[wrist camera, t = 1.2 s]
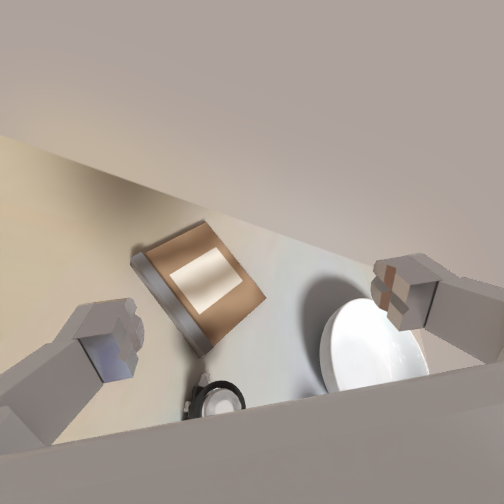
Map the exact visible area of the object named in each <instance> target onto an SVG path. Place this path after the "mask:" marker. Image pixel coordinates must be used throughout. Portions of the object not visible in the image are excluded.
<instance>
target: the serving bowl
mask: <svg viewBox="0 0 504 504" xmlns="http://www.w3.org/2000/svg"><path fill="white" fill-rule="evenodd" d="M320 366H321V372H322V376H323V380H324V383H325V386H326V388H327V391H328V393H334V392H339V391H345V390H350V389H356V388H361V387H366V386H372V385H377V384H382V383H388V382H393V381H398V380H404V379H409V378H414V377H420V376H425V375H429V371H428V367H427V364H426V361H425V358H424V356H423V353H422V351H421V348H420V346H419V344H418V343H417V341H416V339H415V337H414V336H413V334H412V333H411V331H410V330H407V331H400V332H399V331H398V330H397V329H396V328H395V326H394V325H393V324H392V323H391V322H390V321H389V319H388V318H387V312H386V311H384V310H382V309H380V308H378V306H377V305H376V304H375V302H374V300H372V299H368V298H357V299H353V300H351V301H348V302H347V303H345V304H344V305H342V306H341V307H339V308H338V309H337V310H336V311H335V312H334V313H333V314H332V315H331V317H330V318H329V320H328V321H327V323H326V325H325V327H324V330H323V333H322V337H321V342H320Z"/></svg>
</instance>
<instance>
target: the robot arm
mask: <svg viewBox="0 0 504 504" xmlns="http://www.w3.org/2000/svg"><path fill="white" fill-rule="evenodd" d="M373 272H374V273H375V275H376V277H375V278H374V279H373V281H372V282H371V295H372V298H373V300H374V302H375V304H376V305H377V306H378V308H380V309H382V310H384V311H386V312H387V318H388V319H389V321H390V322H391V323H392V324H393V325H394V326H395V328H396V329H397V330H398V331H399V332H400V331H407V330H414V329H421V328H425V330H427V331H429V332H431V333H432V334H434V335H436V336H438V337H439V338H441V339H443V340H445V341H447V342H448V343H450V344H452V345H454V346H456V347H457V348H459V349H461V350H463V351H464V352H466V353H468V354H470V355H472V356H473V357H475V358H477V359H479V360H480V361H482V362H484V363H486V364H485V365H479V366H473V367H468V368H463V369H457V370H452V371H447V372H441V373H436V374H430V375H425V376H420V377H414V378H409V379H404V380H398V381H393V382H388V383H382V384H377V385H372V386H366V387H361V388H356V389H350V390H345V391H339V392H334V393H329V394H323V395H318V396H313V397H307V398H302V399H297V400H291V401H286V402H280V403H275V404H270V405H264V406H259V407H254V408H248V409H243V410H238V411H232V412H227V413H221V414H216V415H211V416H205V417H200V418H195V419H189V420H184V421H179V422H173V423H168V424H163V425H157V426H152V427H147V428H141V429H136V430H130V431H125V432H120V433H114V434H109V435H104V436H98V437H93V438H88V439H82V440H77V441H72V442H66V443H61V444H56V445H51V444H52V443H53V442H54V441H55V440H56V439H57V438H58V436H59V435H60V434H61V433H62V432H63V431H64V430H65V428H66V427H67V426H68V425H69V424H70V423H71V422H72V420H73V419H74V418H75V417H76V416H77V415H78V414H79V412H80V411H81V410H82V409H83V408H84V407H85V406H86V404H87V403H88V402H89V401H90V400H91V399H92V398H93V396H94V395H95V394H96V393H97V392H98V391H99V390H100V388H101V387H102V386H103V383H108V382H113V381H118V380H123V379H128V378H133V375H134V372H135V369H136V365H137V362H138V357H137V354H136V353H137V352H138V351H139V350H140V349H141V348H142V345H143V342H144V327H143V323H142V320H141V318H140V317H138V316H137V315H135V311H136V308H137V307H136V305H135V303H134V300H133V299H131V298H123V299H115V300H108V301H100V302H93V303H86V304H81V305H79V306H77V308H76V309H75V311H74V312H73V314H72V315H71V316H70V318H69V319H68V321H67V322H66V324H65V325H64V326H63V328H62V329H61V331H60V332H59V334H58V335H57V336H56V338H55V339H54V341H53V342H52V343H49V344H45V345H44V346H42V347H41V348H39V349H38V350H36V351H35V352H33V353H32V354H30V355H29V356H27V357H26V358H25V359H23V360H22V361H20V362H19V363H17V364H16V365H14V366H13V367H11V368H10V369H8V370H7V371H5V372H4V373H2V374H1V375H0V504H504V288H501V287H498V286H494V285H491V284H487V283H483V282H480V281H477V280H473V279H469V278H465V277H461V278H459V277H458V276H456V275H455V274H453V273H452V272H450V271H449V270H447V269H446V268H444V267H443V266H441V265H440V264H438V263H437V262H435V261H434V260H432V259H431V258H429V257H428V256H426V255H425V254H422V253H417V254H411V255H406V256H402V257H396V258H390V259H384V260H378V261H376V263H375V264H374V269H373Z"/></svg>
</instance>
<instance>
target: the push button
mask: <svg viewBox="0 0 504 504" xmlns="http://www.w3.org/2000/svg"><path fill="white" fill-rule="evenodd" d="M209 376H210V374H208V373H204V374H203V373H202V375H201V379H200V382H198V386H194V388H193V392H192V394H193V395H192V399H191V402H189V401H186V403H185V407H184V412H188V415H187V419H185V420H189V419H195V418H200V417H205V416H211V415H216V414H221V413H227V412H232V411H238V410H243V409H246V406H245V401H244V397H243V395H242V393H241V392H240V390H239V389H238V388H237V387H236V386H235V385H234V384H232V383H230V382H228V381H215V382H212V383H210V384H209V383H208V380H209ZM202 377H203V379H202ZM204 377H205V378H204ZM215 388H221V389H216V390H215V391H213V389H215ZM183 421H184V420H183Z"/></svg>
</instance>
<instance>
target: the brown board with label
mask: <svg viewBox="0 0 504 504" xmlns="http://www.w3.org/2000/svg"><path fill="white" fill-rule="evenodd" d="M130 265H131V267H132V268H133V269H134V271H135V272H136V273H137V275H138V276H139V277H140V279H141V280H142V281H143V283H144V284H145V285H146V287H147V288H148V289H149V291H150V292H151V293H152V295H153V296H154V297H155V299H156V300H157V301H158V303H159V304H160V305H161V307H162V308H163V309H164V311H165V312H166V313H167V315H168V316H169V317H170V319H171V320H172V321H173V323H174V324H175V326H176V327H177V328H178V330H179V331H180V332H181V334H182V335H183V336H184V338H185V339H186V340H187V342H188V343H189V344H190V346H191V347H192V348H193V350H194V351H195V352H196V354H197V355H198V356H199V357H202V356H204V355H205V354H206V353H208V352H209V351H210V350H211V349H212V348H213V346H214V345H215V344H216V343H218V342H219V341H220V340H221V339H222V338H223V337H224V336H225V335H226V334H227V333H229V332H230V331H231V330H232V329H233V328H234V327H235V326H236V325H237V324H238V323H240V322H241V321H242V320H243V319H244V318H245V317H246V316H247V315H248V314H249V313H251V312H252V311H253V310H254V309H255V308H256V307H257V306H258V305H259V304H260V303H262V302H263V301H264V300H265V299H266V297H265V295H264V294H263V293H262V292H261V290H260V289H259V288H258V287H257V285H256V284H255V283H254V282H253V280H252V279H251V278H250V277H249V275H248V274H247V273H246V272H245V270H244V269H243V268H242V267H241V265H240V264H239V263H238V262H237V260H236V259H235V258H234V257H233V255H232V254H231V253H230V252H229V250H228V249H227V248H226V247H225V245H224V244H223V243H222V242H221V240H220V239H219V238H218V237H217V235H216V234H215V233H214V232H213V230H212V229H211V228H210V227H209V225H208V224H207V223H206V222H205V223H203V224H201V225H199V226H198V227H196V228H194V229H192V230H190V231H188V232H186V233H184V234H182V235H180V236H178V237H176V238H174V239H172V240H170V241H168V242H166V243H164V244H162V245H160V246H158V247H156V248H154V249H152V250H150V251H148V252H146V253H144V254H143V253H142V252H140V253H138V254H136V255H134V256H132V257H131V262H130Z"/></svg>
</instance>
